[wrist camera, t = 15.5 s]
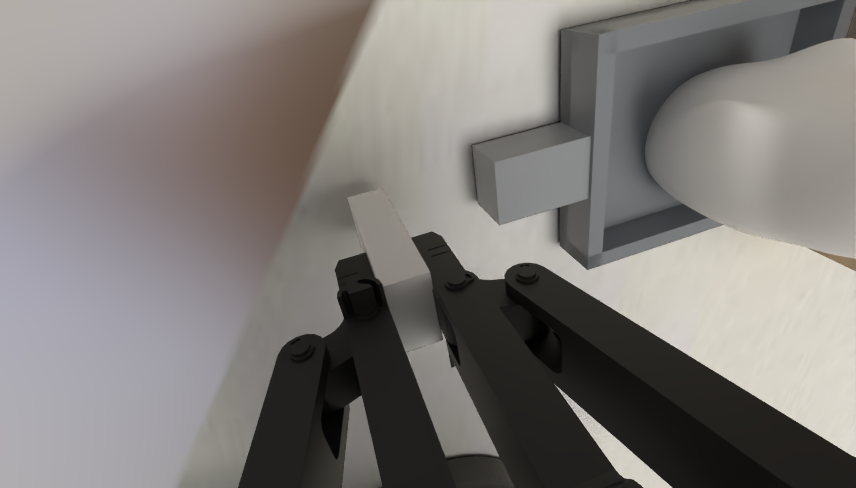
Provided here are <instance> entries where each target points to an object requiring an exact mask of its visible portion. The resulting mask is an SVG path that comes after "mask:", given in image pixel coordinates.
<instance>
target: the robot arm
mask: <svg viewBox="0 0 856 488" xmlns="http://www.w3.org/2000/svg"><path fill="white" fill-rule="evenodd" d="M347 199H348V202H349V206H350V209H351V213H352V216H353V220H354V223H355V227H356V230H357V234H358V237H359V241H360V244H361V248H362V251H363V253H362V254H359V255H356V256H352V257H349V258H345V259H342V260H339V261H338V264H337V266H336V269H335V272H336V277H337V281H338V285H339V291H338V294H337V299H338V302H339V305H340V308H341V310H342V313H343V316H344V320H343V322H342V323H341V325H340V326H339V327H338V328H337V329H336V330H335V331H334V332H332V333H331V334H329V335H328V336H326V337H324V338H323V339H322V337H321V336H318V335H315V334H305V335H302V336H298V337H296V338H294V339H292V340H291V341H289V342H288V343H287V344H286V345H285V346H284V347H282V349H281V351H280V352H279V354H278V357H277V360H276V364H275V367H274V370H273V374H272V377H271V380H270V383H269V387H268V390H267V393H266V397H265V400H264V403H263V407H262V410H261V413H260V417H259V420H258V423H257V427H256V430H255V433H254V437H253V440H252V443H251V447H250V450H249V453H248V457H247V460H246V463H245V467H244V470H243V473H242V477H241V480H240V483H239V487H238V488H342V479H343V469H344V459H345V449H346V439H347V430H348V420H349V410H350V408H349V403H351V402H352V401H354V400H355V399H356V398H358V397H359V396H361V395H362V398H363V402H364V407H365V411H366V415H367V420H368V424H369V429H370V433H371V437H372V442H373V446H374V451H375V455H376V459H377V464H378V468H379V473H380V477H381V481H382V486H383V488H643V487H642V486H641V485H640V484H638V483H637V482H636V481H634V480H632V479H625V478H623V477H622V476H621V475H619V473H618V472H617V471H616V470H615V468H614V467H613V466H612V464H611V463H610V462H609V460H608V459H607V457H606V456H605V455H604V453H603V452H602V450H601V449H600V448H599V446H598V445H597V443H596V442H595V441H594V439H593V438H592V436H591V435H590V434H589V432H588V431H587V429H586V428H585V427H584V425H583V424H582V422H581V421H580V420H579V418H578V417H577V415H576V414H575V413H574V411H573V410H572V408H571V407H570V406H569V404H568V403H567V401H566V400H565V399H564V397H563V396H562V394H561V393H560V392H559V390H558V389H557V387H559V388H560V389H561V390H562V391H563V392H564V393H565V394H567V395H568V396H569V397H570V398H571V399H572V400H573V401H575V402H576V403H577V404H578V405H579V406H580V407H581V408H583V409H584V410H585V411H586V412H587V413H588V414H589V415H590V416H592V417H593V418H594V419H595V420H596V421H597V422H598V423H600V424H601V425H602V426H603V427H604V428H605V429H606V430H608V431H609V432H610V433H611V434H612V435H613V436H614V437H616V438H617V439H618V440H619V441H620V442H621V443H622V444H624V445H625V446H626V447H627V448H628V449H629V450H630V451H632V452H633V453H634V454H635V455H636V456H637V457H638V458H640V459H641V460H642V461H643V462H644V463H645V464H646V465H648V466H649V467H650V468H651V469H652V470H653V471H654V472H655V473H657V474H658V475H659V476H660V477H661V478H662V479H663V480H665V481H666V482H667V483H668V484H669V485H670V486H671V487H673V488H856V457H854V456H851V455H850V454H848V453H846V452H845V451H843V450H842V449H840V448H838V447H837V446H835V445H833V444H832V443H830V442H829V441H827V440H825V439H824V438H822V437H820V436H819V435H817V434H815V433H814V432H812V431H811V430H809V429H807V428H806V427H804V426H802V425H801V424H799V423H798V422H796V421H794V420H793V419H791V418H789V417H788V416H786V415H784V414H783V413H781V412H780V411H778V410H776V409H775V408H773V407H771V406H770V405H768V404H767V403H765V402H763V401H762V400H760V399H758V398H757V397H755V396H754V395H752V394H750V393H749V392H747V391H745V390H744V389H742V388H740V387H739V386H737V385H736V384H734V383H732V382H731V381H729V380H727V379H726V378H724V377H723V376H721V375H719V374H718V373H716V372H714V371H713V370H711V369H709V368H708V367H706V366H705V365H703V364H701V363H700V362H698V361H696V360H695V359H693V358H692V357H690V356H688V355H687V354H685V353H683V352H682V351H680V350H678V349H677V348H675V347H674V346H672V345H670V344H669V343H667V342H665V341H664V340H662V339H661V338H659V337H657V336H656V335H654V334H652V333H651V332H649V331H648V330H646V329H644V328H643V327H641V326H639V325H638V324H636V323H634V322H633V321H631V320H630V319H628V318H626V317H625V316H623V315H621V314H620V313H618V312H617V311H615V310H613V309H612V308H610V307H608V306H607V305H605V304H603V303H602V302H600V301H599V300H597V299H595V298H594V297H592V296H590V295H589V294H587V293H586V292H584V291H582V290H581V289H579V288H577V287H576V286H574V285H572V284H571V283H569V282H568V281H566V280H564V279H563V278H561V277H559V276H558V275H556V274H555V273H553V272H551V271H550V270H548V269H546V268H545V267H543V266H541V265H538V264H534V263H521V264H517V265H514V266H512V267H511V268H509V269H508V270H507V271H506V273H505V279H498V280H481V279H479V278H478V277H477V276H476V275H475V274H474V273H472V272H469V271H466V270H465V269H464V268H463V266H462V265H461V264H460V262H459V261H458V259H457V258H456V256H455V255H454V253H453V252H452V251H451V249H450V248H449V246H448V245H447V243H446V242H445V241H444V239H443V238H442V236H440V235H438V234H436V233H434V232H429V233H426V234H422V235H419V236H416V237H412V238H411V237H410V235H409V234H408V232H407V230H406V228H405V227H404V225H403V223H402V221H401V219H400V218H399V216H398V214H397V212H396V211H395V209H394V207H393V205H392V204H391V202H390V200H389V198H388V196H387V195H386V193H385V191H384V189H383V188H380V189H376V190H373V191H369V192H365V193H362V194H358V195H354V196H351V197H347ZM441 330H442V331H441ZM442 332H443V334H444V336H445V338H446V342H447V347H448V352H449V358H450V363H451V368H452V367H455V366H456V368H457V370H458V372H459V374H460V376H461V378H462V380H463V382H464V384H465V386H466V388H467V390H468V392H469V395H470V397H471V399H472V401H473V403H474V405H475V407H476V409H477V411H478V413H479V415H480V417H481V419H482V421H483V423H484V425H485V427H486V429H487V432H488V434H489V436H490V438H491V440H492V442H493V444H494V446H495V448H496V450H497V452H498V454H499V456H500V458H501V460H500V459H497V458H492V457H481V456H473V457H462V458H455V459H450V460H446V458H445V455H444V453H443V450H442V447H441V445H440V442H439V439H438V437H437V434H436V431H435V429H434V426H433V423H432V421H431V418H430V416H429V413H428V410H427V408H426V405H425V402H424V400H423V397H422V394H421V392H420V389H419V386H418V384H417V381H416V378H415V376H414V373H413V370H412V368H411V365H410V362H409V360H408V357H407V354H406V352H409V351H411V350H414V349H417V348H420V347H423V346H426V345H429V344H432V343H435V342H438V341H440V340H443V336H442ZM454 364H455V365H454ZM554 384H555V385H556V386H557V387H556V386H555V385H554Z"/></svg>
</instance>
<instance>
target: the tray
mask: <svg viewBox="0 0 856 488" xmlns="http://www.w3.org/2000/svg"><path fill="white" fill-rule="evenodd" d="M855 8H856V0H692V1H687V2H683V3H678V4H674V5H669V6H665V7H660V8H656V9H651V10H647V11H642V12H638V13H633V14H629V15H624V16H620V17H615V18H611V19H606V20H602V21H598V22H593V23H589V24H584V25H580V26H575V27H571V28H566V29H562V30H561V122H559V123H556V124H552V125H548V126H544V127H540V128H537V129H533V130H529V131H525V132H521V133H518V134H514V135H510V136H506V137H503V138H499V139H495V140H491V141H487V142H484V143H480V144H476V145H472V148H473V158H474V167H475V177H476V186H477V196H478V204H479V205H480V206H481V207H482V208H483V209H484V210H485V211H486V212H487V213H488V214H489V215H490V216H491V217H492V218H493V219H494V220H495V221H496V222H497V223H498V224H499V225H502V224H505V223H509V222H512V221H515V220H519V219H522V218H525V217H528V216H532V215H535V214H538V213H542V212H545V211H548V210H552V209H555V208H558V207H560V246H561V247H562V248H563V249H564V250H565V251H566V252H568V253H569V254H570V255H571V256H572V257H573V258H574V259H576V260H577V261H578V262H579V263H580V264H581V265H582V266H583V267H585V268H586V269H587V270H589V269H592V268H595V267H598V266H601V265H604V264H607V263H610V262H613V261H616V260H619V259H622V258H625V257H628V256H631V255H634V254H637V253H640V252H643V251H646V250H649V249H652V248H655V247H658V246H661V245H664V244H667V243H670V242H673V241H676V240H679V239H682V238H685V237H688V236H691V235H694V234H697V233H700V232H703V231H706V230H709V229H712V228H715V227H718V226H721V225H723V224H721V223H719V222H716V221H714V220H712V219H710V218H708V217H706V216H704V215H702V214H700V213H698V212H696V211H695V210H693V209H691V208H689V207H688V206H686V205H685V204H683V203H681V202H680V201H678V200H677V199H675V198H674V197H672V196H671V195H670V194H668V193H667V192H666V191H665V190H664V189H663V188H662V187H661V186H660V185H659V184H658V183H657V182H656V181H655V180H654V179H653V178H652V176H651V175H650V173H649V171H648V169H647V166H646V162H645V144H646V139H647V135H648V132H649V129H650V126H651V124H652V122H653V119H654V118H655V116H656V114H657V112H658V110H659V109H660V107H661V106H662V104H663V103H664V102H665V101H666V99H667V98H668V97H669V96H670V95H671V94H672V93H673V92H674V91H675V90H676V89H677V88H678V87H679V86H680V85H682V84H683V83H684V82H686V81H687V80H689V79H690V78H692V77H694V76H696V75H698V74H701V73H704V72H706V71H709V70H712V69H716V68H719V67H723V66H728V65H735V64H742V63H751V62H759V61H765V60H770V59H775V58H779V57H783V56H786V55H789V54H792V53H795V52H798V51H800V50H803V49H806V48H809V47H811V46H814V45H817V44H820V43H823V42H827V41H830V40H834V39H840V38H846V36H847V33H848V30H849V27H850V24H851V20H852V17H853V14H854V11H855Z"/></svg>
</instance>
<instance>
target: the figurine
mask: <svg viewBox="0 0 856 488" xmlns="http://www.w3.org/2000/svg"><path fill="white" fill-rule="evenodd" d="M645 162H646V166H647V169H648V171H649V173H650V175H651V176H652V178H653V179H654V180H655V181H656V182H657V183H658V184H659V185H660V186H661V187H662V188H663V189H664V190H665V191H666V192H667V193H668V194H670V195H671V196H672V197H674V198H675V199H677V200H678V201H680V202H681V203H683V204H685V205H686V206H688V207H689V208H691V209H693V210H695V211H696V212H698V213H700V214H702V215H704V216H706V217H708V218H710V219H712V220H714V221H716V222H719V223H721V224H723V225H726V226H728V227H730V228H733V229H736V230H738V231H741V232H744V233H747V234H751V235H754V236H758V237H762V238H766V239H771V240H776V241H781V242H786V243H791V244H795V245H799V246H803V247H806V248H810V249H813V250H817V251H820V252H824V253H828V254H833V255H837V256H843V257H848V258H855V259H856V39H854V38H840V39H834V40H830V41H827V42H823V43H820V44H817V45H814V46H811V47H809V48H806V49H803V50H800V51H798V52H795V53H792V54H789V55H786V56H783V57H779V58H775V59H770V60H765V61H759V62H751V63H742V64H735V65H728V66H723V67H719V68H716V69H712V70H709V71H706V72H704V73H701V74H698V75H696V76H694V77H692V78H690V79H689V80H687V81H686V82H684V83H683V84H682V85H680V86H679V87H678V88H677V89H676V90H675V91H674V92H673V93H672V94H671V95H670V96H669V97H668V98H667V99H666V101H665V102H664V103H663V104H662V106H661V107H660V109H659V110H658V112H657V114H656V116H655V118H654V119H653V122H652V124H651V126H650V129H649V132H648V135H647V139H646V144H645Z"/></svg>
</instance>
